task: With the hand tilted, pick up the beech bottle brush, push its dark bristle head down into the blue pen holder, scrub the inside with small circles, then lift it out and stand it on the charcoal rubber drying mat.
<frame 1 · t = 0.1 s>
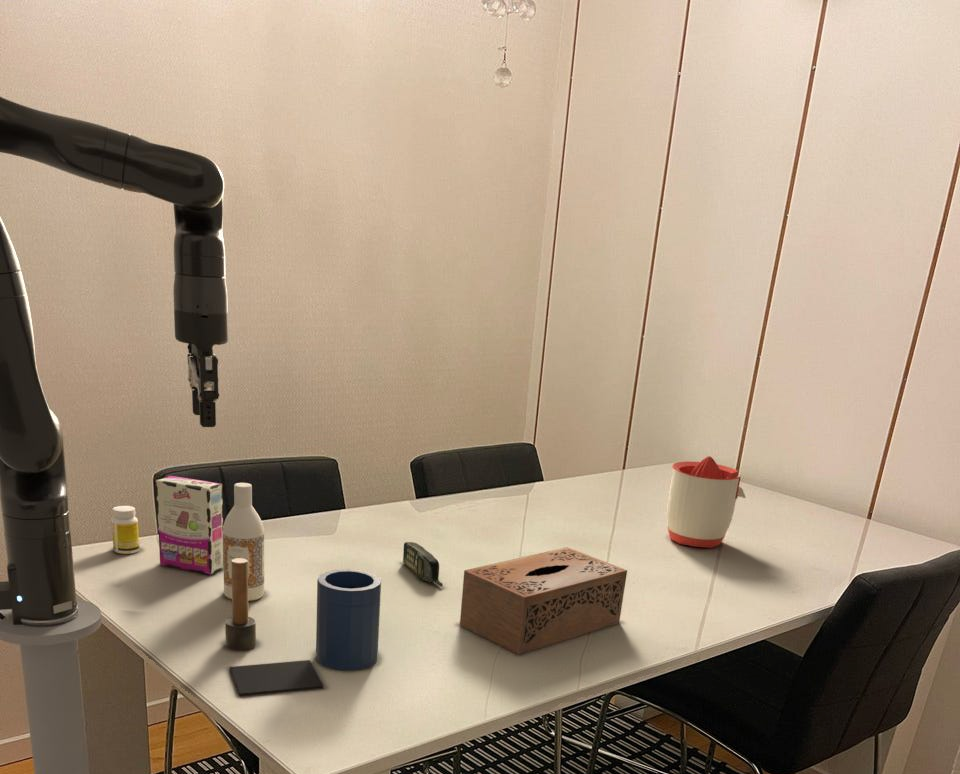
hand: (204, 420, 146), 33 cm above the table, tool pointing down, fingers open, 8 cm apart
citrus juicer: (697, 542, 226), on the table
tissue box cover: (541, 624, 171), on the table
blue pen holder: (346, 657, 151), on the table
bath foam: (244, 596, 171), on the table
drying mat: (276, 678, 142), on the table
candy bar box: (192, 567, 182), on the table
mobile phone: (422, 576, 189), on the table
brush: (240, 644, 152), on the table
supplement bottle: (126, 551, 187), on the table
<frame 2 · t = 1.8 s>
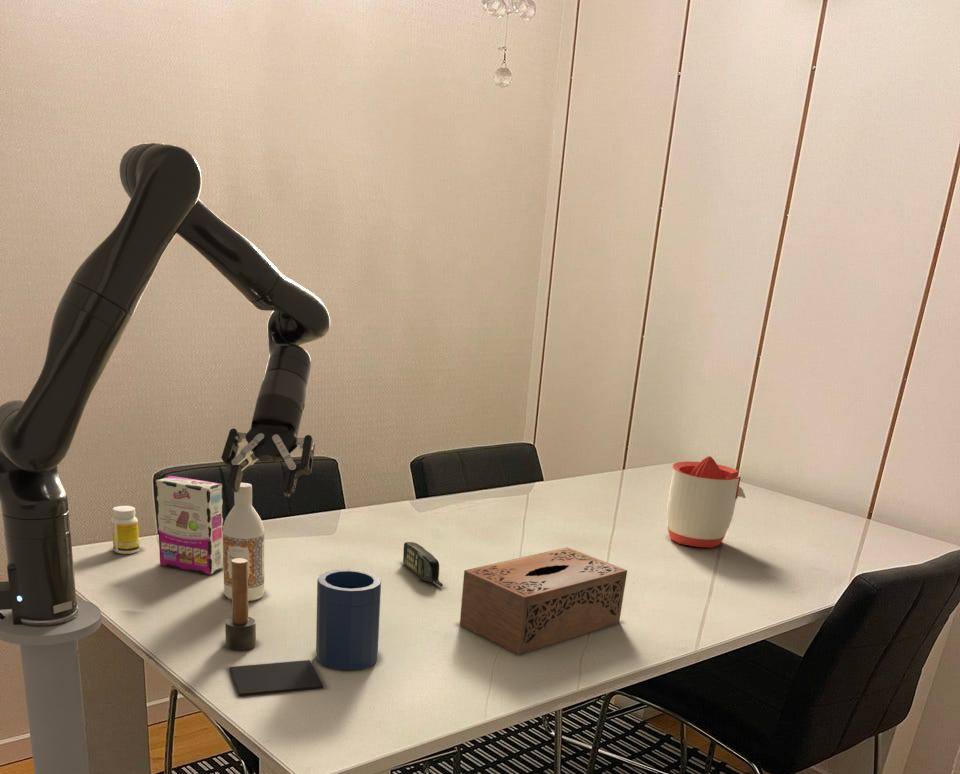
hand: (260, 492, 154), 22 cm above the table, tool tilted 45°, fingers open, 8 cm apart
nothing on the table moved.
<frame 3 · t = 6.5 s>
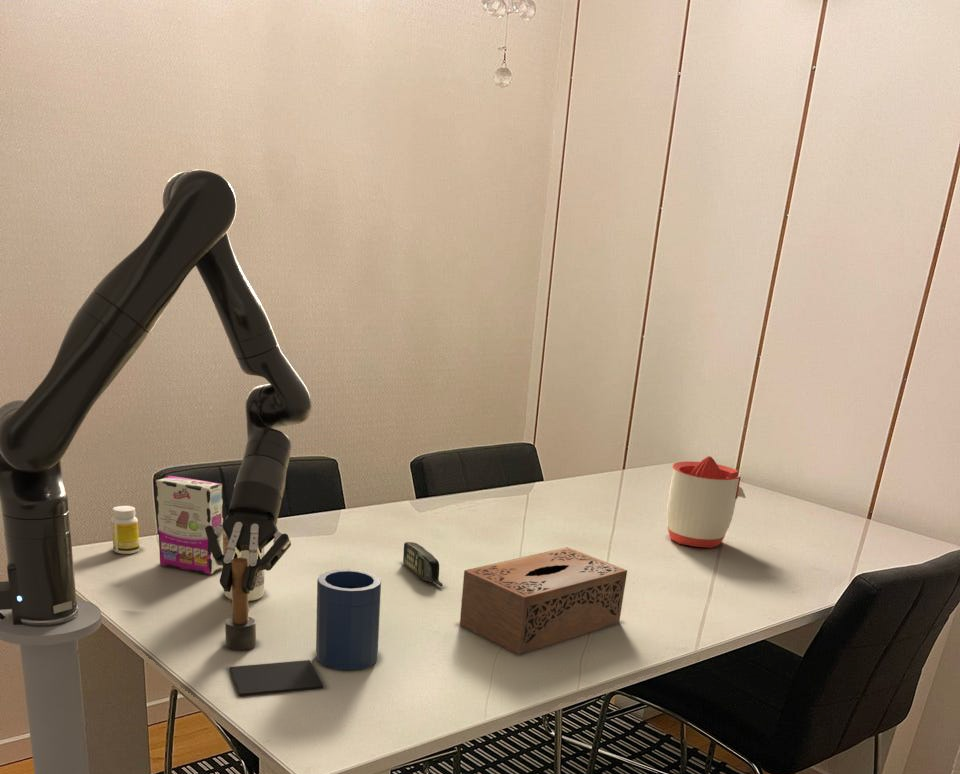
hand: (235, 590, 146), 10 cm above the table, tool tilted 45°, fingers closed on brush, 2 cm apart
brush: (240, 644, 152), on the table, touching gripper
everything else where it was.
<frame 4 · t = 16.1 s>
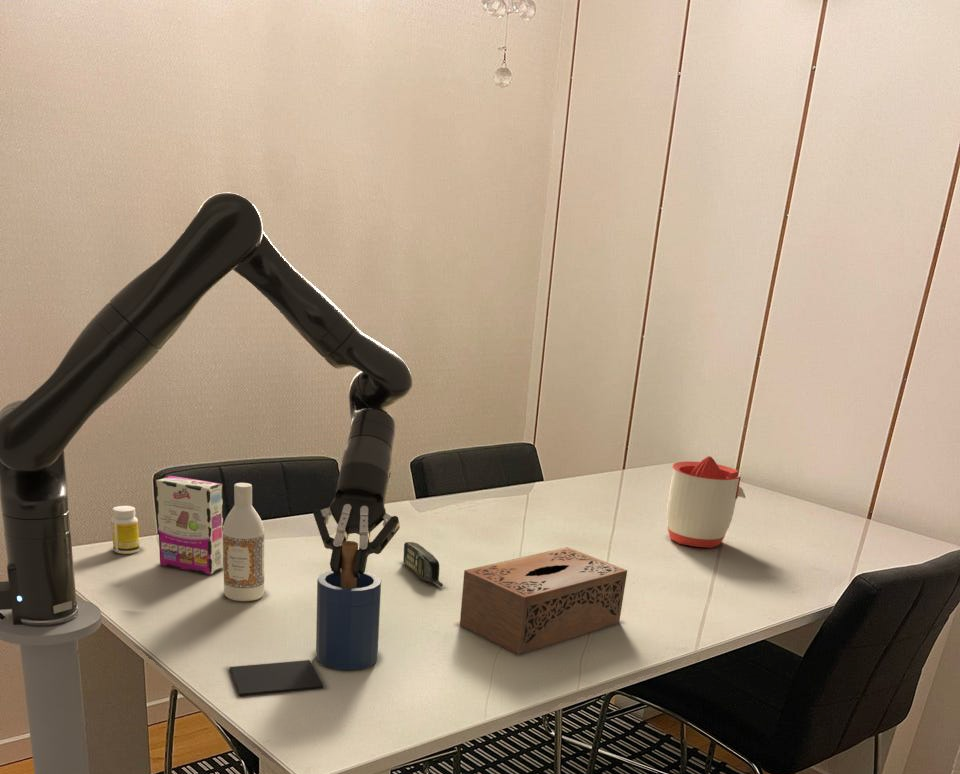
hand: (346, 574, 142), 15 cm above the table, tool tilted 45°, fingers closed on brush, 2 cm apart
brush: (347, 630, 148), point 5 cm above the table, touching gripper
everything else where it was.
when the fingers open (10 cm above the table, at t = 26.0 s): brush stays where it is, resting on drying mat.
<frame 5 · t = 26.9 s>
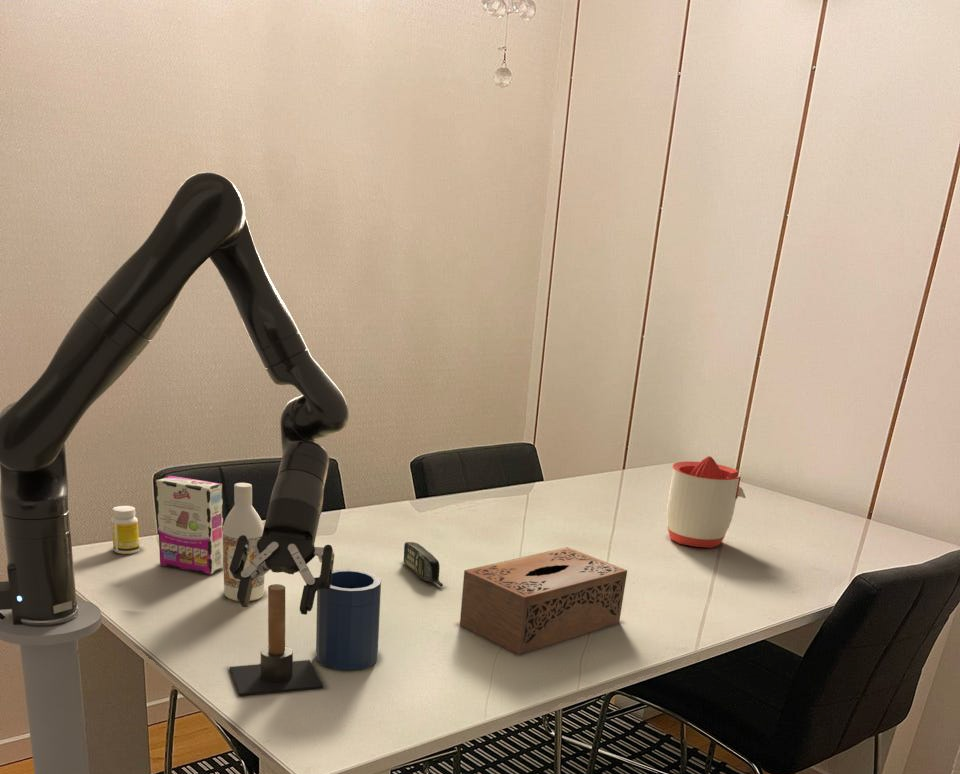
hand: (273, 608, 137), 12 cm above the table, tool tilted 45°, fingers open, 8 cm apart
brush: (276, 676, 142), resting on drying mat
everything else where it was.
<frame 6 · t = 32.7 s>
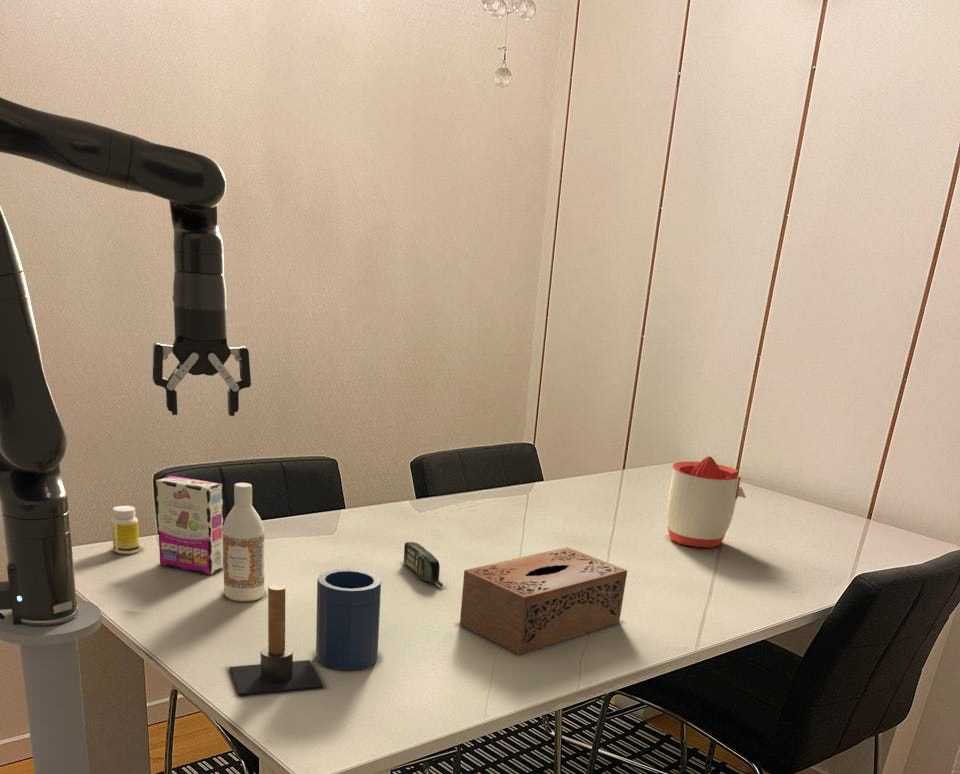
hand: (203, 414, 150), 33 cm above the table, tool pointing down, fingers open, 8 cm apart
nothing on the table moved.
at the end: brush inside the target area on the drying mat (0.1 cm from its centre), point 0.4 cm above the drying mat's base; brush tilted 0°; the gripper is holding nothing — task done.
